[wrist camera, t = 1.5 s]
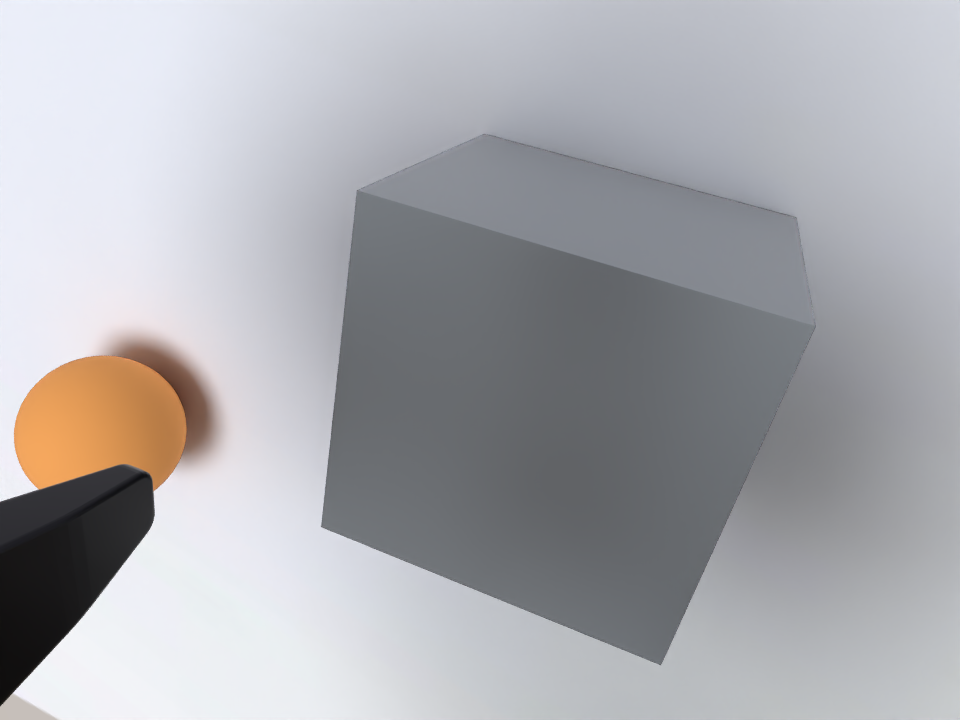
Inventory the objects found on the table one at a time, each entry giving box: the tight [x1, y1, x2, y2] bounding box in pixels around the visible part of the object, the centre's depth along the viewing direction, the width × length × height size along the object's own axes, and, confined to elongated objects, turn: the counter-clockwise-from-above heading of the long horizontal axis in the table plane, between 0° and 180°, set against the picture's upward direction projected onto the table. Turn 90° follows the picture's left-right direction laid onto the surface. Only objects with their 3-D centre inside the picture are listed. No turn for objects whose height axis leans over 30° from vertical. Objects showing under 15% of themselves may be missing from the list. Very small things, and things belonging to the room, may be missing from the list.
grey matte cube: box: [321, 134, 815, 665], centre depth 17 cm, size 8×8×7 cm
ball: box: [14, 356, 187, 491], centre depth 24 cm, size 5×5×5 cm
